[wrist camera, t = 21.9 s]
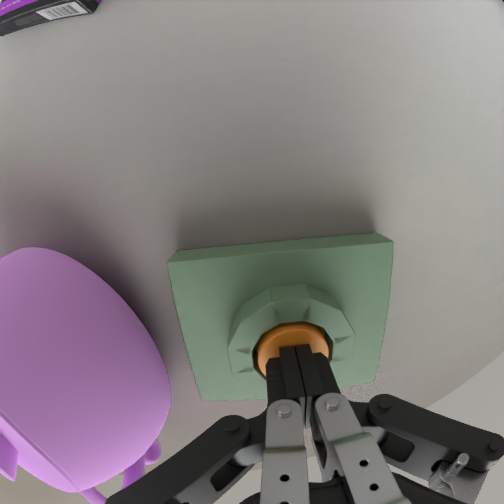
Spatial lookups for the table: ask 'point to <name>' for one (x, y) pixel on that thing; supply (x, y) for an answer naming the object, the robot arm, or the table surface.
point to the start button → (289, 340)
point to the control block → (281, 306)
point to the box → (40, 12)
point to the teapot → (75, 377)
